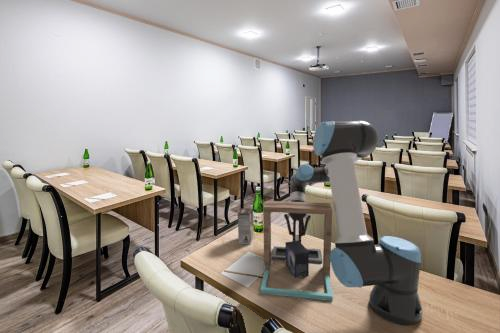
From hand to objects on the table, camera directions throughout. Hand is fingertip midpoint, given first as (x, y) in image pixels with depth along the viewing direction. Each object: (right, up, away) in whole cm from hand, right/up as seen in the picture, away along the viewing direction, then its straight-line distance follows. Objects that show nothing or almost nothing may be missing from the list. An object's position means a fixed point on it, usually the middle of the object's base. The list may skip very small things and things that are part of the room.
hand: (296, 249), depth 119 cm
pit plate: (+1, -4, +3) cm, 5 cm away
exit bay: (-4, -7, -18) cm, 20 cm away
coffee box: (-23, -1, +19) cm, 30 cm away
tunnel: (-2, -6, -9) cm, 10 cm away
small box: (-2, -6, -9) cm, 10 cm away
